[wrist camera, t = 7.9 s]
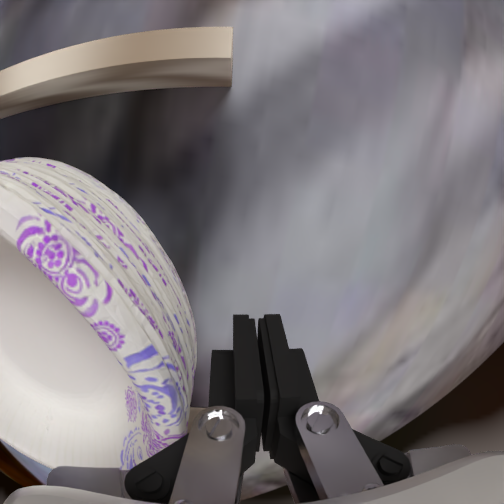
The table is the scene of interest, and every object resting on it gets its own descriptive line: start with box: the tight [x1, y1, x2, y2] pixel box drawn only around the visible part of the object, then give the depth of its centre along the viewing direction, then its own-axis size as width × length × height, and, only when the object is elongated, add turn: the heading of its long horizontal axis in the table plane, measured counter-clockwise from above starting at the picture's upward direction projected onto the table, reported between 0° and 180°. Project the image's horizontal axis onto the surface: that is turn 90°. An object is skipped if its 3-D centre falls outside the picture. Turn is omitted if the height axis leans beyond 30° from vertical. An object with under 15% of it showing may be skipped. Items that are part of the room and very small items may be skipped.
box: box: [0, 27, 233, 434], centre depth 12 cm, size 19×21×5 cm
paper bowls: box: [0, 157, 197, 470], centre depth 11 cm, size 15×15×8 cm
